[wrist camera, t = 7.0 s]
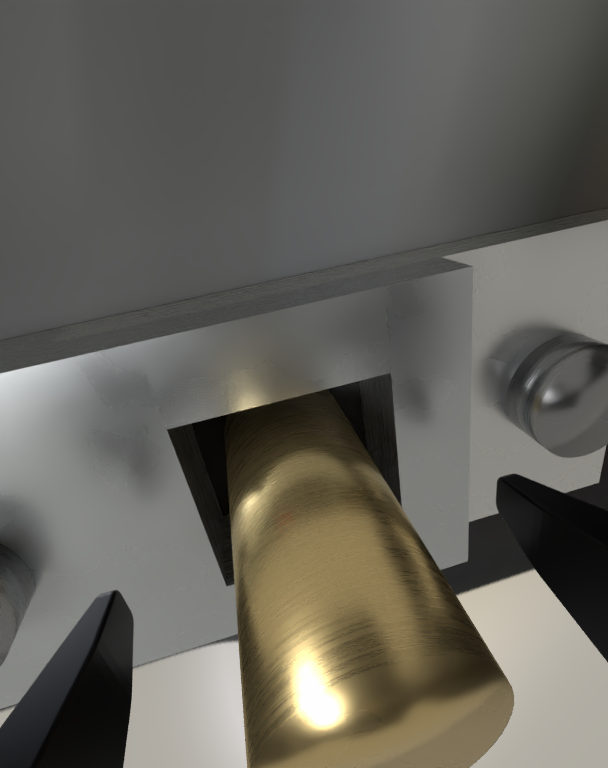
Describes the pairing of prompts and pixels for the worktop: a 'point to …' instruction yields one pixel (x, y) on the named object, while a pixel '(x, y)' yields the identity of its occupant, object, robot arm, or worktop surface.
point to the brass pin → (345, 608)
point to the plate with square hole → (280, 382)
